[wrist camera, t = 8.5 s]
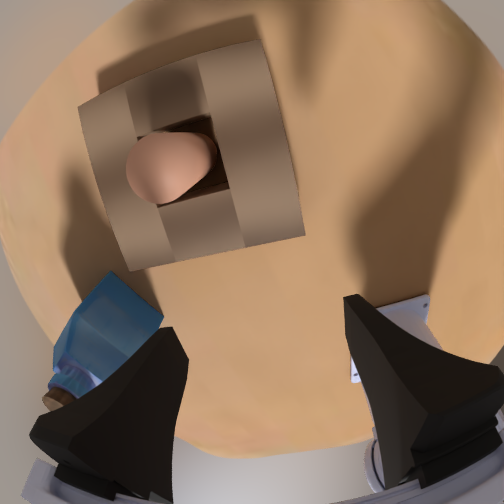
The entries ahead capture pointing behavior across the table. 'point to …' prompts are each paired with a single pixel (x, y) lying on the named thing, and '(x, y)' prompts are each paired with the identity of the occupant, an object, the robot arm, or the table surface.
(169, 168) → the peg
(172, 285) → the table surface
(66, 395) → the perfume bottle
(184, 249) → the socket
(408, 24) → the table surface
